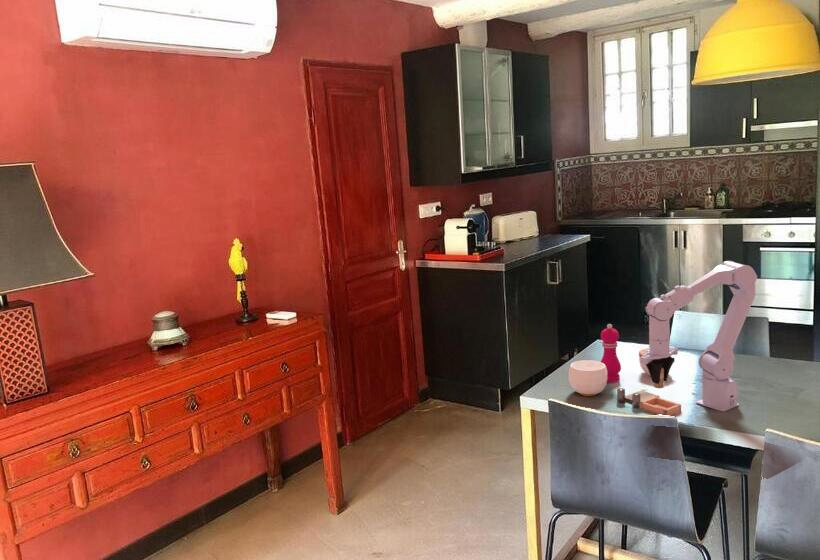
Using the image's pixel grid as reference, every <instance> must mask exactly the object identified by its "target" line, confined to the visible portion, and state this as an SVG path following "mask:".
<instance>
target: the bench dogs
mask: <svg viewBox="0 0 820 560" xmlns="http://www.w3.org/2000/svg"><path fill="white" fill-rule="evenodd" d="M632 393H633V394H632ZM632 393H631V394H632V403H631V405H632V408H633V407H634V409H640V402H641V395H640V394H639V393H635V392H632ZM625 396H626V389H625V388H622V387H620V388H617V389H616V402H617V403H620V404H623V403H626V401H625Z"/></svg>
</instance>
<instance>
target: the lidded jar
mask: <svg viewBox="0 0 820 560" xmlns="http://www.w3.org/2000/svg"><path fill="white" fill-rule="evenodd" d="M647 350H649V347H648V348H643V349H641V350H639V351H638V356H639V357H638V359H639V366H640V367H641V369H642V371H643V372H645V374H646V375H647V376H650V373H649V370H648V368H647V366H646V365H645V364H642V363H640V357H642V356H644V355H645V354H646V353H647ZM670 357H672V355H671V356H670ZM650 377H651V376H650Z"/></svg>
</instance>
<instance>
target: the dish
mask: <svg viewBox="0 0 820 560" xmlns="http://www.w3.org/2000/svg"><path fill="white" fill-rule="evenodd" d="M639 410H642V411H645V412H647V411H648V412H647V413H650V414H654V415H656V414H662V415H671V416H674V415H676V414H679V413H681V412H682V404H680V403H677V402H674V401H670V400H668V399H665V398H661V397H660V396H659V397H653V398H650V399H647V400H645V401H642V402H640V408H639Z"/></svg>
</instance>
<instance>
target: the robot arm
mask: <svg viewBox="0 0 820 560" xmlns="http://www.w3.org/2000/svg"><path fill="white" fill-rule="evenodd" d="M757 278H758V275H757V273H756V272H755V270H754V268H753V267H752V266H751V265H748V264H747V265H746V264H743V263H742V264H741V263H738V262H735V261H732V260H726V261H723V262H722V263H721V264H717V265H716V266H715V267H714V268H713V269H712V270H711V271H709V272H708V273H706V274H705V275H703V276H702V277H700V278H698V279H697V280H695V281H694V282H692V283H690V284H689V285H683V284H681V285H675V286H674V287H673V288H674V289H672V290H670V291H668V292H667V293H665V294H661V295H660V296H659V297H654V298H651V299H650V300H649V301H648V303H646V306H645V312H646V313H647V315H648V316H649V317H648V324H649V325H648V329H649V330H648V332H649V333H648V335H649V336H648V337H649V338H648V340H649V341H648V344H649V345H648V346H649V347H648V348H649V350H647V353H646V354H645V355H644V356H642V357H640V361H639V364H640V363H642V364H645V365H646V366H647V368H648V370H649V373H650V378H651V383H653V384H654V383H656V384H659V382H660V373H661V369H662V367H663V368H664V382H667V380H668V376H669V373H670V370H671V368H672V366H673V364H675V358H674V357H672V356H673V355H674V356H677V355H678V353H679V352H678V351H679V349H678V347H673V346H670V343H671V342H670V335H671V334H670V319H671V318H672V317H673V315H674V313H675V312H677V311H678V310H681V309H682V308H684V307H685V306H687V305H689V304H691V303H692V302H693V301H694V299H695V296H697V295H699V294H701V293H703V292H704V291H707V290H709V289H711V288H713V287H715V286H717V285H728V287H729V289H730V290H731V293H732V294H733V297H732V298H731V301H730V303H729V306H728V308H727V310H726V312H725V315H724V318H723V320H722V322H721V325H720V327H719V330H718V331H717V335H716V336H715V339H714V341H713V342H712V343H711V344H709V345H708V346H707V347H706V349H705V350H704V352H702V353H701V354H700V355H699V358H698V366H699V367H700V368H701V369H702V389H701V390H702V394H701V395H702V398H701V399H699V400H696V401H695V403H696V404H698V405H701V406H704V407H707V408H710V409H714V410H717V411H720V412H726V411H728V410H731V409H733V408H735V407H738V406H740V404H739V402H738V399H739V398H738V397H739V393H738V391H739V385H738V383H737V381H735V380H733V379H731V378H730V377H731V376H732V374H733V372H734V362H735V361H736V360H735V359H736V358H735V353H734V346H735V344H736V342H737V339H738V338H739V335H740V332H741V331H742V328H743V326H744V323H745V321H746V319H747V316H748V314H749V312H750V309H751V308H752V307H751V306H752V304H753V302H754V300H755V296H756V282H757ZM670 356H671V357H670Z"/></svg>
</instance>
